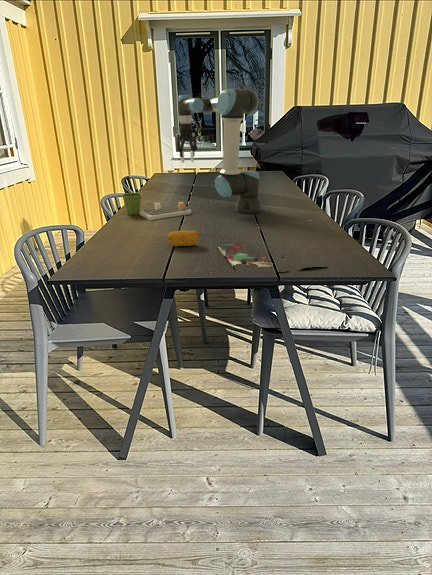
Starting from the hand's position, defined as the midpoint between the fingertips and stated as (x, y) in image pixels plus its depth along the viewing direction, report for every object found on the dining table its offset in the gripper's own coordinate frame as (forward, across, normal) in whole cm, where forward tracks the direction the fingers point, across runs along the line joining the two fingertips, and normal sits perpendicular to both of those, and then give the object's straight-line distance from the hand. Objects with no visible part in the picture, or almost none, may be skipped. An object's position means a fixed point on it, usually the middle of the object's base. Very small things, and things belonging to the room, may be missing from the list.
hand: (187, 162), depth 253 cm
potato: (+25, +46, +82) cm, 97 cm away
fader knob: (+23, +19, +26) cm, 40 cm away
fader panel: (+25, +28, +23) cm, 44 cm away
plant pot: (+25, +43, +11) cm, 51 cm away
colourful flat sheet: (+26, +24, +115) cm, 120 cm away
